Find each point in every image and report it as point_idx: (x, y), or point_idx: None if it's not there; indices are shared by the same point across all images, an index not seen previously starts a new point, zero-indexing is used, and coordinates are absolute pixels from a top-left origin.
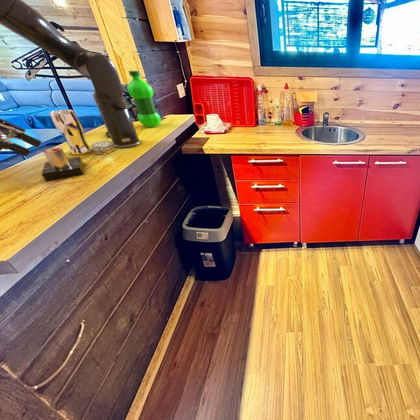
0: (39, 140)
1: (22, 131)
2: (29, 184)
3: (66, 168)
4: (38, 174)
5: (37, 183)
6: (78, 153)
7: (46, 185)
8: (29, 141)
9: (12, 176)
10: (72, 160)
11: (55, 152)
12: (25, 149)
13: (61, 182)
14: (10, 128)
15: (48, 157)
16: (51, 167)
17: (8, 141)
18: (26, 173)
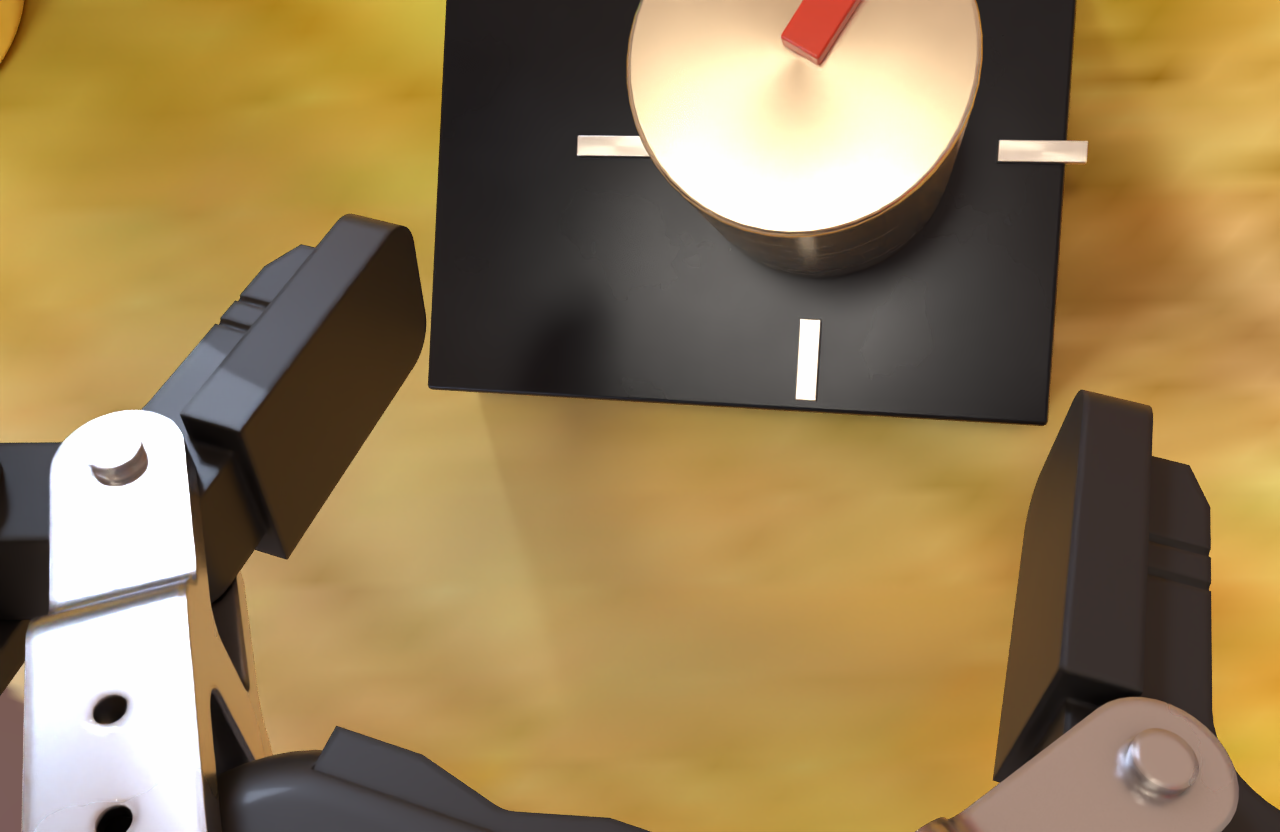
0: (341, 230)
1: (95, 464)
2: None
3: (1004, 76)
4: (630, 515)
5: None
6: (10, 16)
7: (1229, 416)
8: (339, 420)
9: (506, 802)
10: (593, 4)
11: (974, 9)
12: (1154, 465)
13: (1236, 227)
14: (188, 705)
15: (918, 204)
16: (787, 295)
17: (1206, 777)
18: (485, 651)
